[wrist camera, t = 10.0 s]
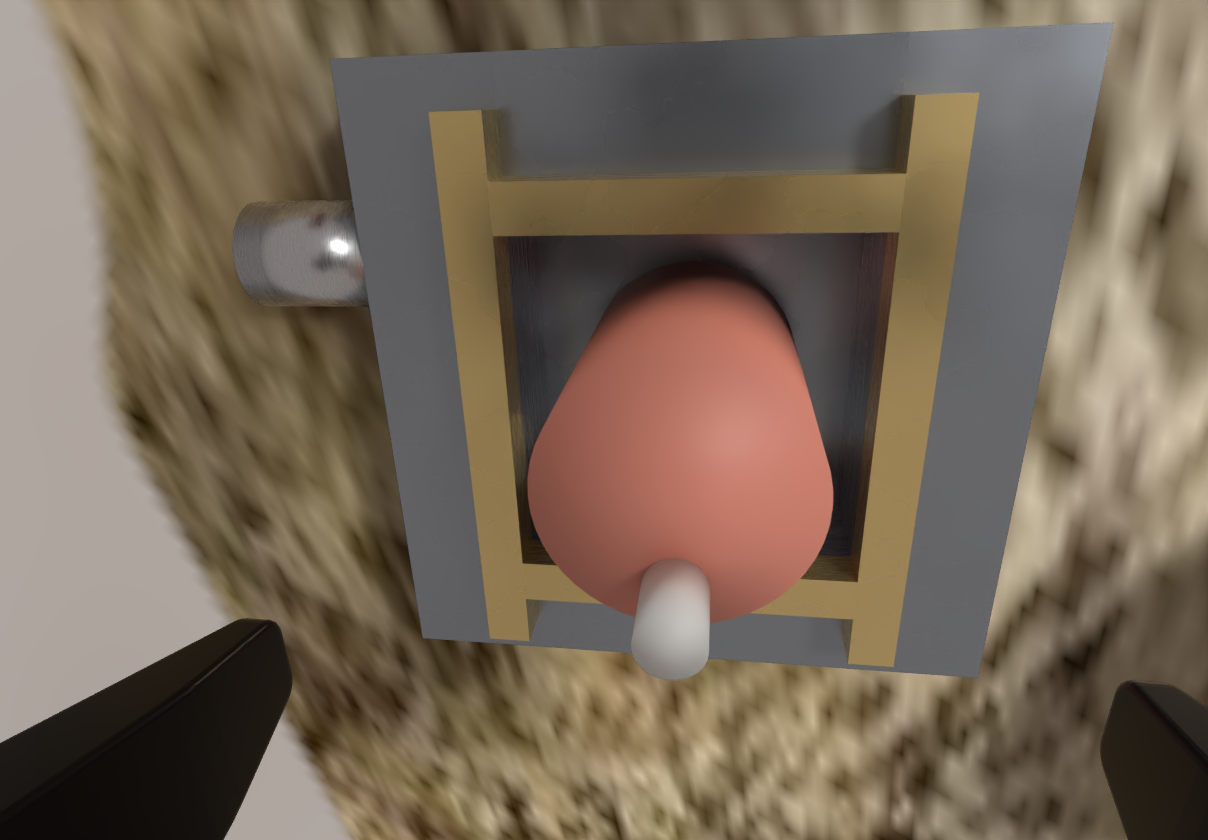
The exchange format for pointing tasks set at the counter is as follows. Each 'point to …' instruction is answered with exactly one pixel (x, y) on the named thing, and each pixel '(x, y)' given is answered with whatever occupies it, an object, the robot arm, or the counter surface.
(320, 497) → the counter surface
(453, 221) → the grey and gold frame
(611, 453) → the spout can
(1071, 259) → the counter surface
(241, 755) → the robot arm
